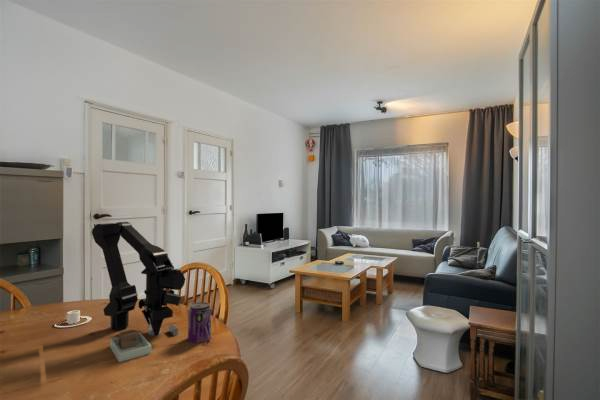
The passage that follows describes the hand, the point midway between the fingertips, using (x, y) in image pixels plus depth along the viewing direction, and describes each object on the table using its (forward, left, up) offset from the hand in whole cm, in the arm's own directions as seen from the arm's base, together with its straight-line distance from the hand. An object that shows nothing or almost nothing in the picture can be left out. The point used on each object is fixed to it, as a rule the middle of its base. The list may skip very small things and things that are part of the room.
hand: (154, 333), depth 110 cm
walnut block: (+5, -10, 0) cm, 11 cm away
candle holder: (-34, -20, -2) cm, 39 cm away
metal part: (0, 0, -1) cm, 1 cm away
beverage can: (+14, +10, -1) cm, 17 cm away
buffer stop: (+4, +5, -1) cm, 6 cm away
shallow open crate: (+9, -10, -1) cm, 13 cm away
